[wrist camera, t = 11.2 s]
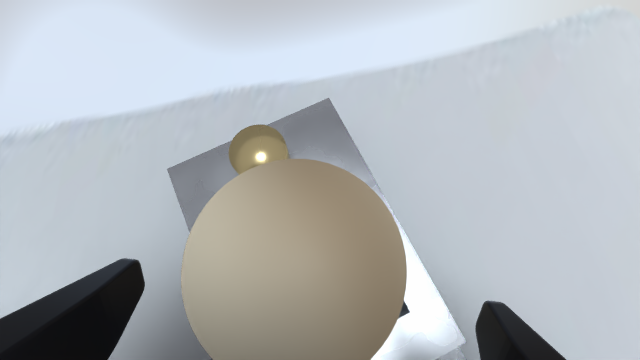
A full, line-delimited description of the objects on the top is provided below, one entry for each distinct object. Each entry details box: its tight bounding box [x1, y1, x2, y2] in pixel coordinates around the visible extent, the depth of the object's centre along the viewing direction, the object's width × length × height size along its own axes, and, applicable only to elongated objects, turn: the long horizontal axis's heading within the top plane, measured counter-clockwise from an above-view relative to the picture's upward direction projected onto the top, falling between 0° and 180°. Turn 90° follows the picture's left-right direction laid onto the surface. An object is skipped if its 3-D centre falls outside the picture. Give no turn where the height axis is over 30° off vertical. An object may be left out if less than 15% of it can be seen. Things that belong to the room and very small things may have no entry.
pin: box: [181, 159, 407, 360], centre depth 12 cm, size 4×4×12 cm
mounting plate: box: [167, 98, 466, 360], centre depth 15 cm, size 9×22×5 cm, turn 26°
